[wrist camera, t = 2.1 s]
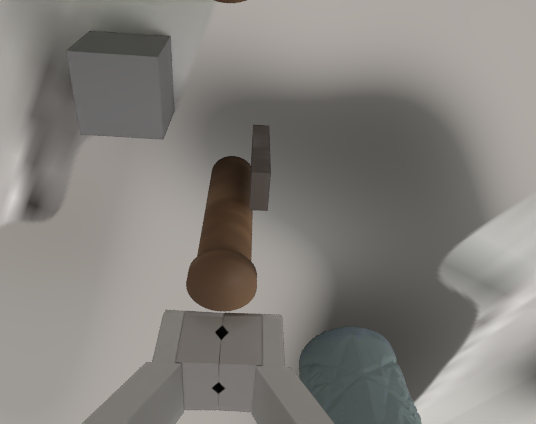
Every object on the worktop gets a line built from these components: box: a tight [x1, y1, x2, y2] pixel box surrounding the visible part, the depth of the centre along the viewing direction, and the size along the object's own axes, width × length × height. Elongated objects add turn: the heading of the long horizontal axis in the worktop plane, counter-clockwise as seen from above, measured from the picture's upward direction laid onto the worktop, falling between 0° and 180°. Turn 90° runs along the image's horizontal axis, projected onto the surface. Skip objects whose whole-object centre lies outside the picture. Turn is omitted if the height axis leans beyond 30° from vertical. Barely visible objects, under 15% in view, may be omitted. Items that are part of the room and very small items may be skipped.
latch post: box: [186, 125, 271, 311], centre depth 27 cm, size 4×5×11 cm
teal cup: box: [299, 327, 421, 424], centre depth 38 cm, size 10×10×12 cm
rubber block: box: [66, 31, 174, 139], centre depth 26 cm, size 4×4×4 cm
